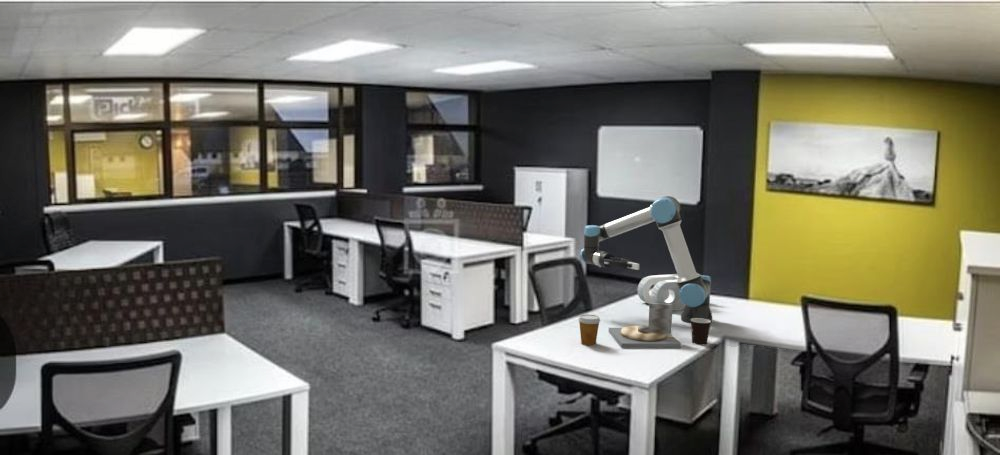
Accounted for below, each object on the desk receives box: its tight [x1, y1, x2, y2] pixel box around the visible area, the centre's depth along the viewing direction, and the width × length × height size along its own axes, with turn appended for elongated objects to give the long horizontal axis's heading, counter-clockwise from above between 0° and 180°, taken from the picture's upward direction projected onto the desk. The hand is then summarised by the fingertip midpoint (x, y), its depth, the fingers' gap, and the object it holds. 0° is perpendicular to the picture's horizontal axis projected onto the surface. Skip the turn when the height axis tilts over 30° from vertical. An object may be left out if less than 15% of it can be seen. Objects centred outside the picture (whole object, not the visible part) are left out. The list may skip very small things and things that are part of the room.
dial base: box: [608, 327, 682, 349], centre depth 320 cm, size 26×26×2 cm
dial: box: [621, 303, 673, 341], centre depth 319 cm, size 22×20×14 cm
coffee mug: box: [690, 318, 711, 346], centre depth 318 cm, size 12×9×10 cm
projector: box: [637, 273, 685, 311], centre depth 389 cm, size 35×19×15 cm, turn 111°
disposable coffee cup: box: [578, 313, 601, 346], centre depth 312 cm, size 10×10×12 cm
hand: (638, 266), depth 334 cm, fingers closed
